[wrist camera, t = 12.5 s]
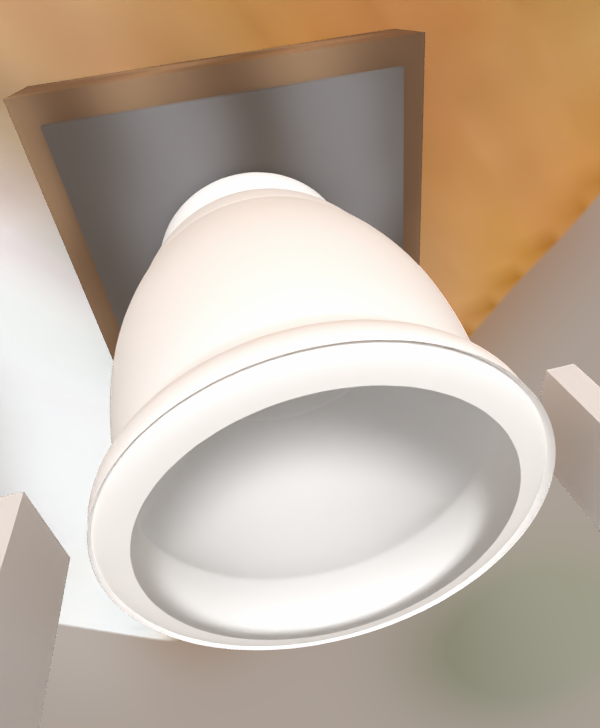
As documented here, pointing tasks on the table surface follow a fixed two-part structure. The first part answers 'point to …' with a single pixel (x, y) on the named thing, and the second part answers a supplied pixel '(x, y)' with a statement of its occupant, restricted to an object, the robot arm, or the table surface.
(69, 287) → the table surface
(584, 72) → the table surface
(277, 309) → the jar
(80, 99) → the plinth
